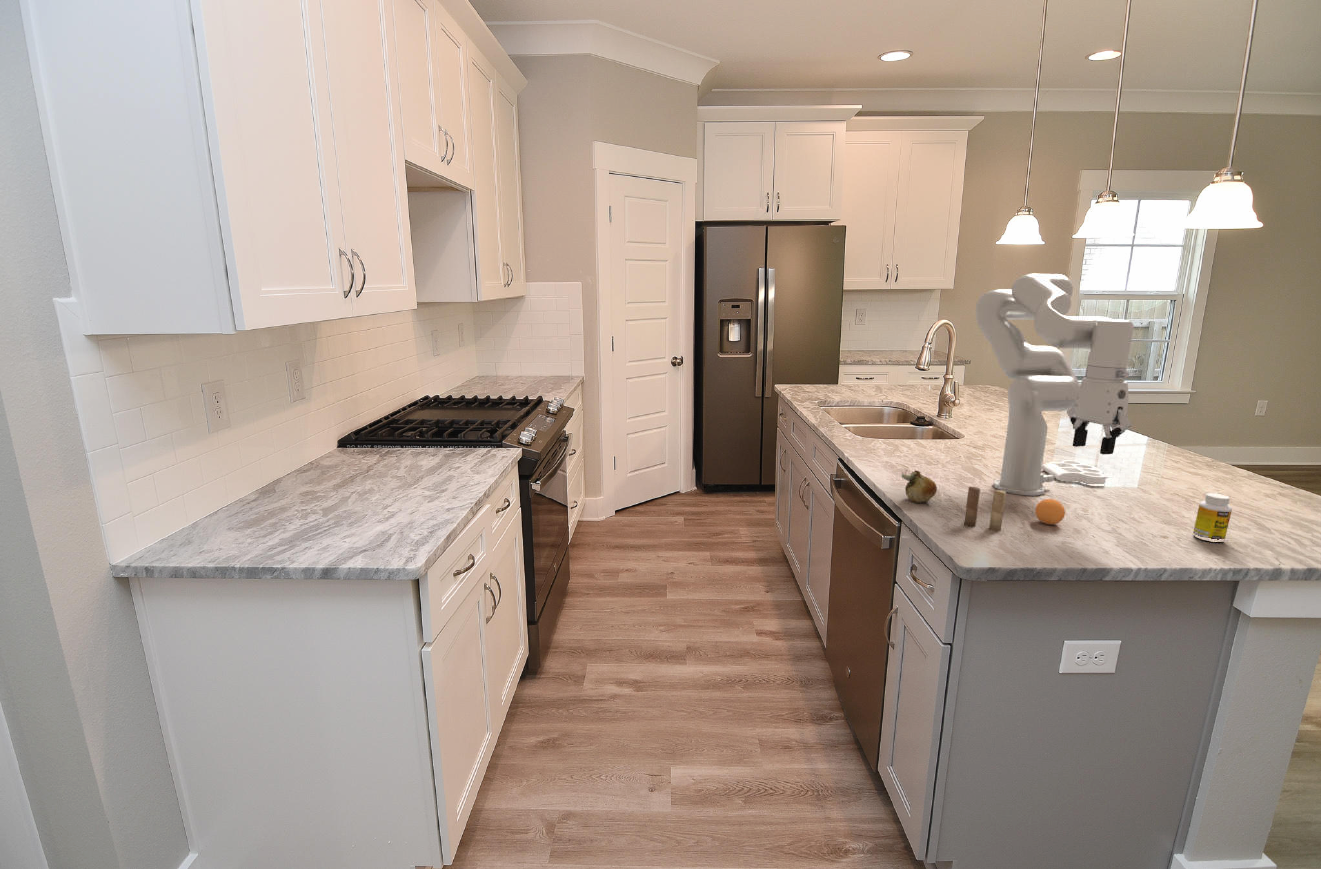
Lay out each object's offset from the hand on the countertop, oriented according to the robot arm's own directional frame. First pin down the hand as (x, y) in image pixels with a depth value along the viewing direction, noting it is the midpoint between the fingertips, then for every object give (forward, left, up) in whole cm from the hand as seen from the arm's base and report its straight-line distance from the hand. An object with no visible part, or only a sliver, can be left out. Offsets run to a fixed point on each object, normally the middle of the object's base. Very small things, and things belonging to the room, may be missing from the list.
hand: (1092, 449), depth 151 cm
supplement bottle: (-19, +16, -18) cm, 30 cm away
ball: (+9, 0, -15) cm, 17 cm away
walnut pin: (+28, -4, -18) cm, 34 cm away
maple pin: (+24, 0, -18) cm, 30 cm away
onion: (+29, -21, -18) cm, 40 cm away
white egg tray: (-31, -30, -18) cm, 47 cm away
